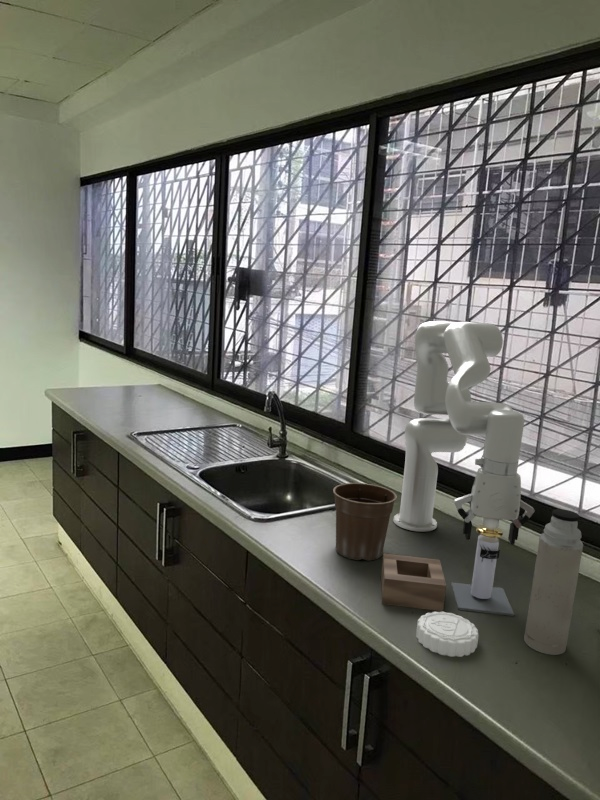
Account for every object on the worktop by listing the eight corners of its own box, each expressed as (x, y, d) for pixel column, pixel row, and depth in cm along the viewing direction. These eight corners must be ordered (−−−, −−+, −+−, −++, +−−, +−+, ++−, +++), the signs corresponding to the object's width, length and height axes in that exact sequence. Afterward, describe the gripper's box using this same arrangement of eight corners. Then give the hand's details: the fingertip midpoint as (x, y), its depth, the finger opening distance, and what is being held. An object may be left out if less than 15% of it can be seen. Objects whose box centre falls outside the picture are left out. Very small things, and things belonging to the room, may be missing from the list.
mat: (451, 584, 154) (451, 582, 154) (502, 590, 153) (503, 588, 153) (457, 609, 143) (458, 607, 142) (513, 616, 142) (514, 613, 141)
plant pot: (345, 533, 180) (350, 478, 177) (400, 549, 172) (406, 491, 169) (316, 553, 166) (321, 492, 163) (374, 571, 158) (380, 508, 155)
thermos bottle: (518, 631, 135) (537, 504, 130) (555, 633, 135) (576, 506, 130) (532, 654, 127) (554, 518, 122) (572, 656, 128) (595, 521, 122)
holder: (380, 576, 155) (383, 553, 154) (436, 583, 154) (439, 559, 153) (382, 603, 142) (384, 578, 141) (442, 611, 141) (446, 585, 140)
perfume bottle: (464, 590, 151) (475, 508, 147) (488, 591, 151) (500, 509, 147) (471, 602, 145) (483, 517, 141) (497, 604, 145) (509, 519, 141)
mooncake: (421, 619, 138) (423, 603, 137) (479, 633, 134) (482, 617, 133) (410, 647, 127) (412, 631, 126) (473, 664, 123) (475, 647, 122)
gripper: (461, 467, 139) (451, 542, 142) (544, 475, 137) (532, 551, 141) (456, 457, 146) (447, 529, 150) (535, 465, 145) (524, 537, 148)
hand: (489, 539), depth 145 cm, fingers open, 9 cm apart
